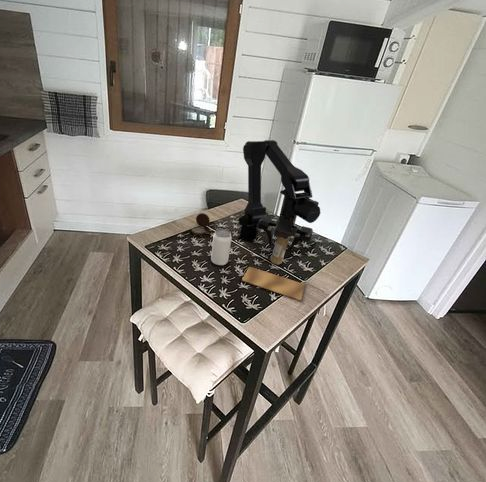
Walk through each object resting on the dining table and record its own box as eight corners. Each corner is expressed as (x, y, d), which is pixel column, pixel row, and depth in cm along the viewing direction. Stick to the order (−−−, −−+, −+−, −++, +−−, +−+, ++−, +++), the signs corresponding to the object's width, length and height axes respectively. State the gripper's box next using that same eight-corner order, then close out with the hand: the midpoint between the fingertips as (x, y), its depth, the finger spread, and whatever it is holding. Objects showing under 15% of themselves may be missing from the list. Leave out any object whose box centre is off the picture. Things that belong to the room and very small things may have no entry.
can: (230, 258, 106) (234, 230, 100) (225, 267, 100) (229, 239, 94) (213, 254, 107) (217, 226, 101) (208, 263, 102) (211, 234, 96)
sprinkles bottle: (283, 264, 106) (294, 234, 99) (272, 265, 105) (282, 234, 97) (278, 257, 110) (288, 228, 102) (268, 257, 108) (277, 228, 101)
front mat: (241, 280, 95) (241, 279, 95) (249, 267, 102) (249, 266, 102) (300, 301, 89) (301, 300, 89) (304, 285, 96) (304, 284, 96)
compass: (188, 233, 119) (189, 217, 115) (196, 225, 125) (197, 211, 122) (205, 238, 117) (207, 222, 113) (213, 230, 123) (214, 215, 119)
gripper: (257, 211, 92) (249, 251, 100) (315, 226, 87) (302, 267, 94) (265, 201, 101) (257, 238, 109) (318, 213, 96) (306, 251, 103)
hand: (279, 248), depth 104 cm, fingers closed on sprinkles bottle, 7 cm apart
